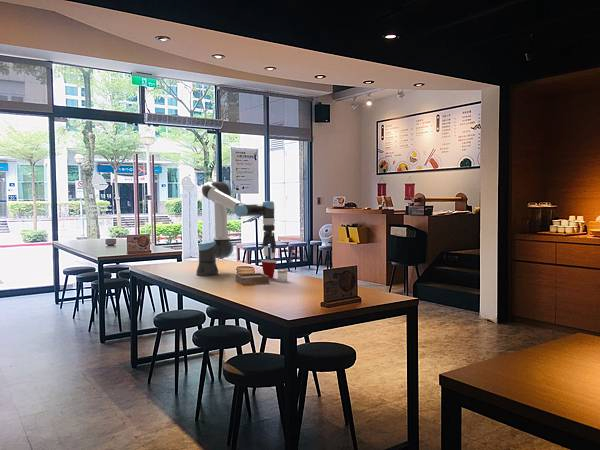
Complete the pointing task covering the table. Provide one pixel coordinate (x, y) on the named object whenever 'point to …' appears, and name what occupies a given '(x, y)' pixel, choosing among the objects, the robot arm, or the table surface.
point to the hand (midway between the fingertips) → (269, 256)
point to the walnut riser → (252, 278)
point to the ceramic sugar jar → (282, 275)
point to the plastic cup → (269, 267)
